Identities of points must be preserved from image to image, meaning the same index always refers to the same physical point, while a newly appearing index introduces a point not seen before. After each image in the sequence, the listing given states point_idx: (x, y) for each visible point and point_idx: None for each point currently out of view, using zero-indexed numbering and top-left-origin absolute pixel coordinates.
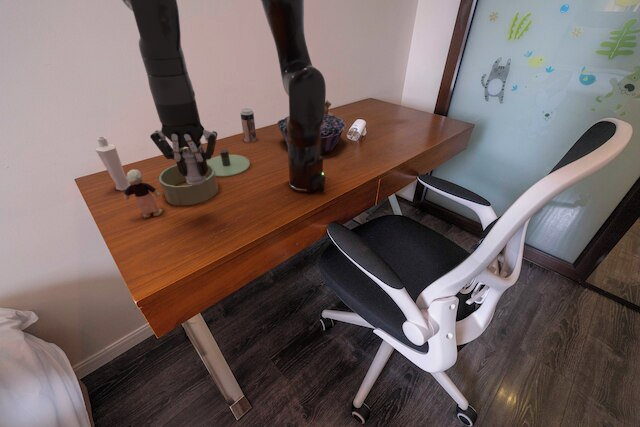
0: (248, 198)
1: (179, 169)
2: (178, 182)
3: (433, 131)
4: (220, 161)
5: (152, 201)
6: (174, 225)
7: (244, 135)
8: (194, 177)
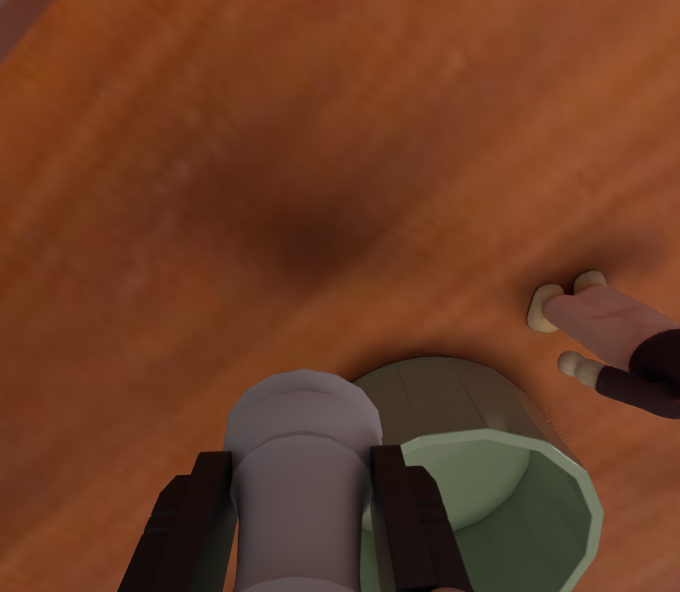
0: (143, 426)
1: (434, 502)
2: (504, 514)
3: None
4: None
5: (588, 330)
6: (440, 214)
7: None
8: (280, 423)
